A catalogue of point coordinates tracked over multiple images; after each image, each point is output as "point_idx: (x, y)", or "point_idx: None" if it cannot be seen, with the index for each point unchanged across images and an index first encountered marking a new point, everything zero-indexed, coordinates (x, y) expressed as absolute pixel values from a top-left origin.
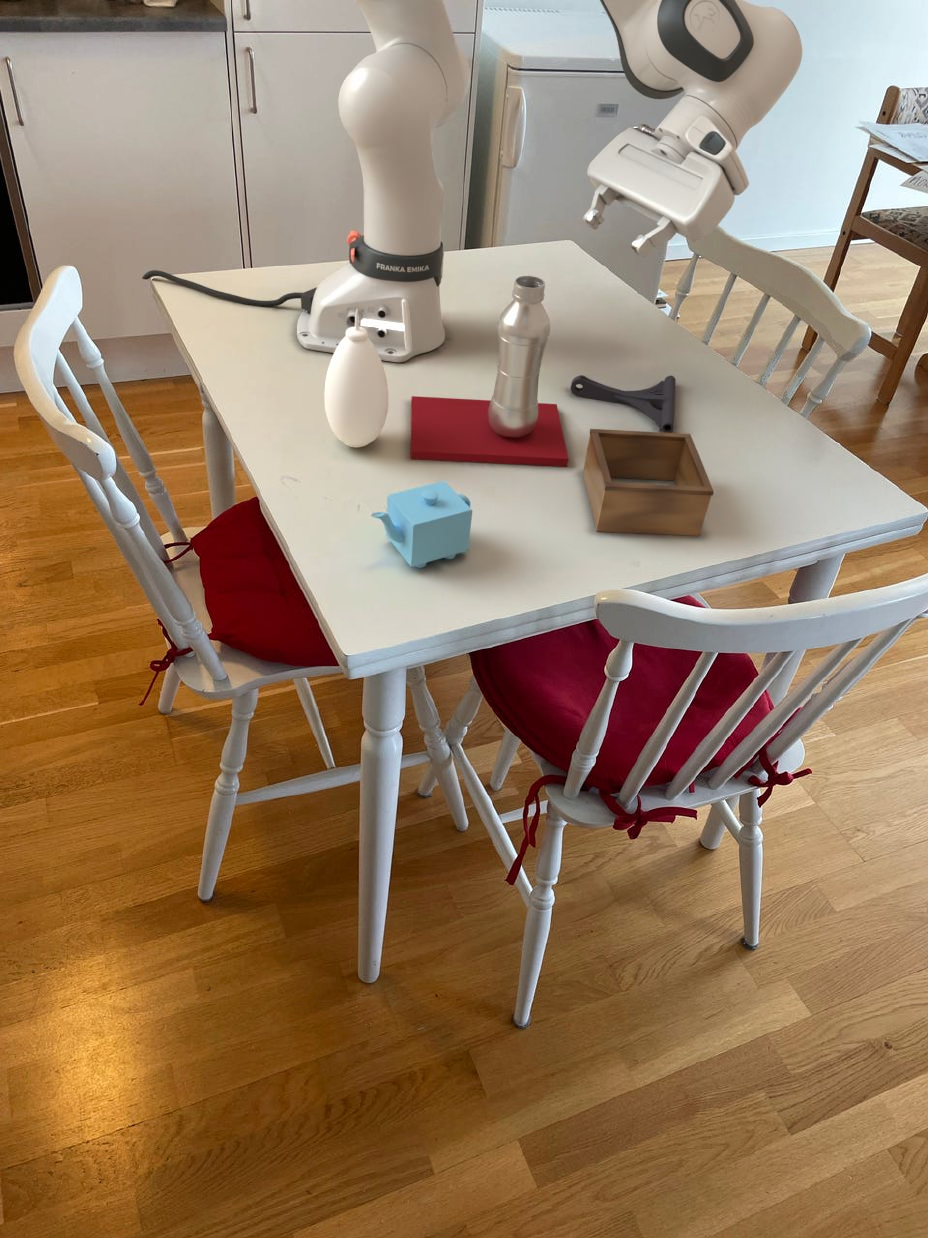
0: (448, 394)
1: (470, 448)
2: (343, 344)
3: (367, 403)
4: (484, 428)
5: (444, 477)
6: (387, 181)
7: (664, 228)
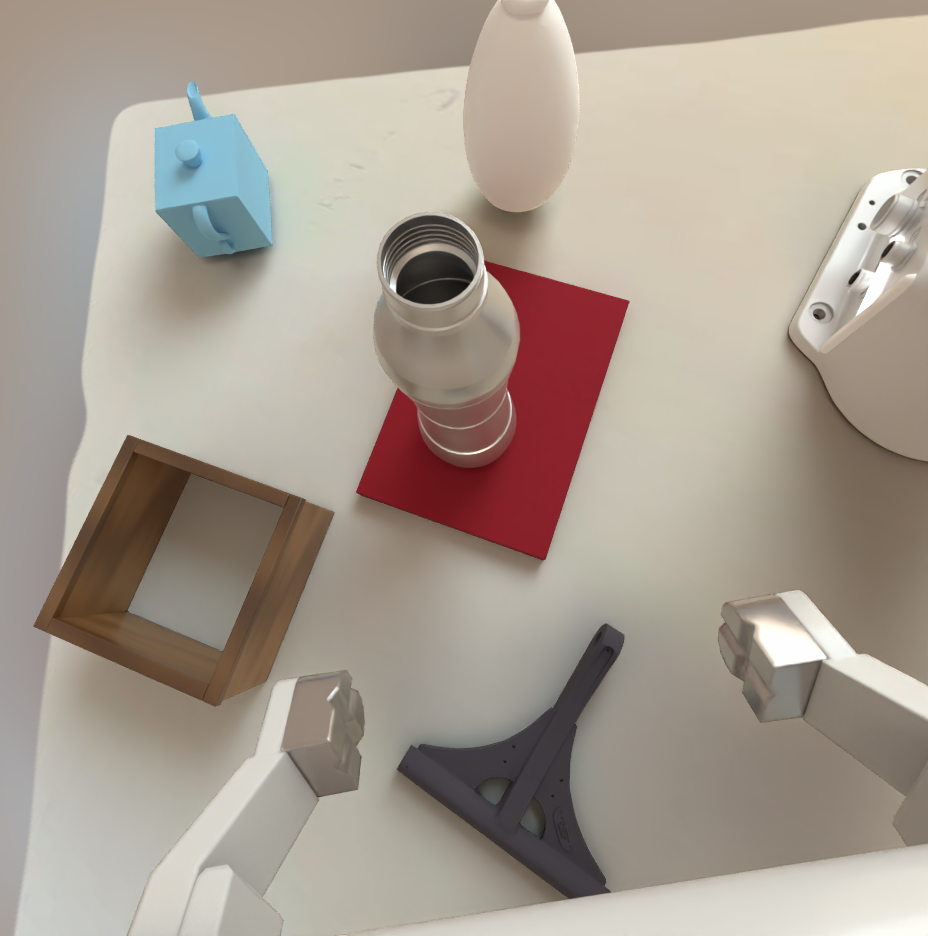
0: (648, 383)
1: None
2: None
3: (463, 117)
4: None
5: None
6: None
7: (153, 882)
